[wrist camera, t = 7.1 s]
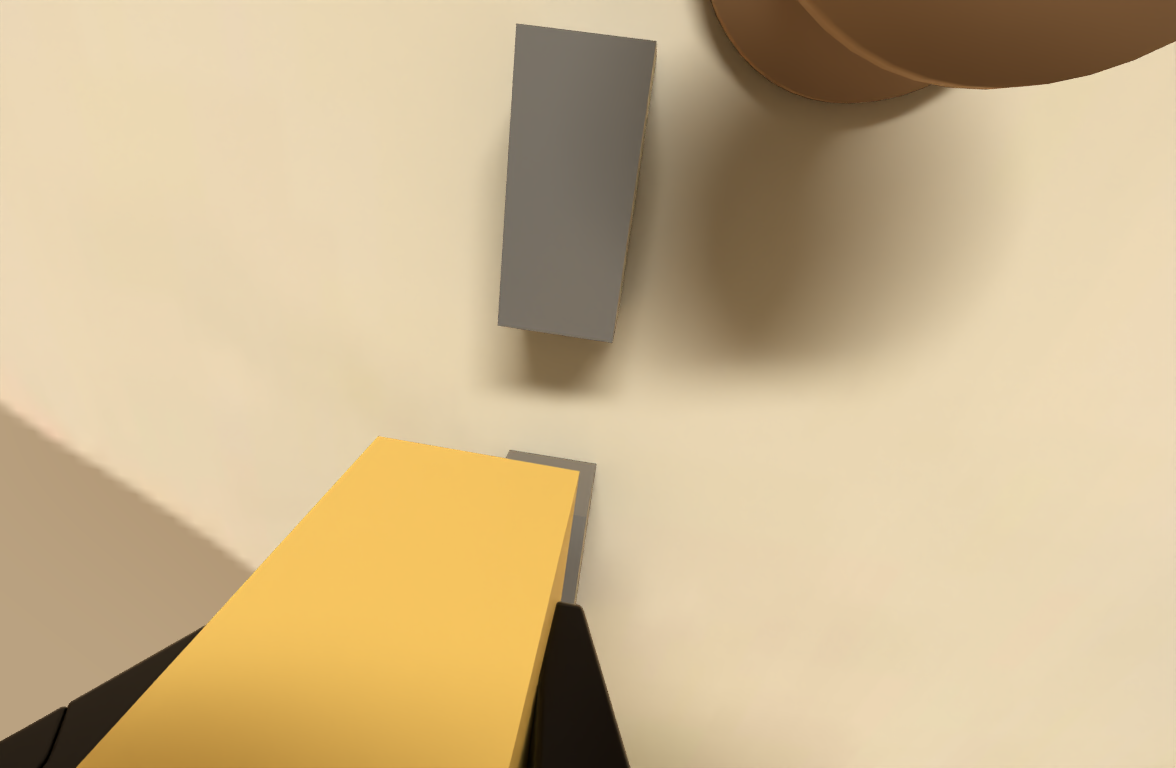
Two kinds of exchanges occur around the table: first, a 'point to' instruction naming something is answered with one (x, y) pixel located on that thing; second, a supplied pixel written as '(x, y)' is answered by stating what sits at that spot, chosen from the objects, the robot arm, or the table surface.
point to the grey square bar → (572, 200)
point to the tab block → (375, 628)
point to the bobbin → (938, 42)
